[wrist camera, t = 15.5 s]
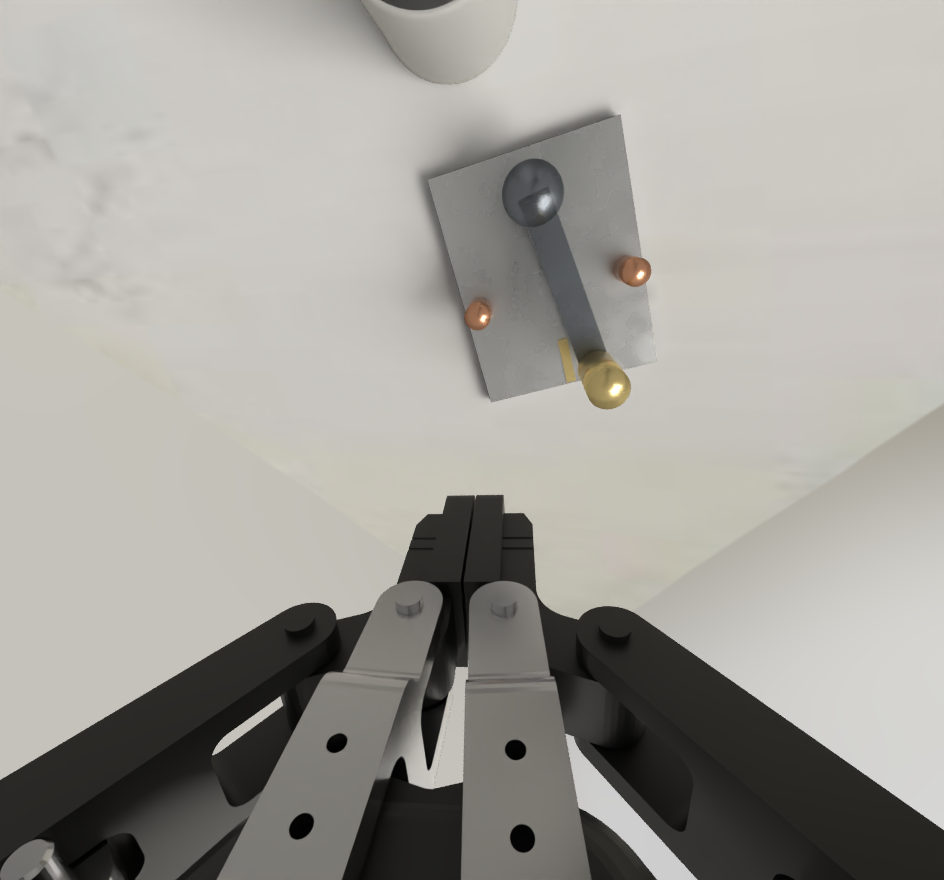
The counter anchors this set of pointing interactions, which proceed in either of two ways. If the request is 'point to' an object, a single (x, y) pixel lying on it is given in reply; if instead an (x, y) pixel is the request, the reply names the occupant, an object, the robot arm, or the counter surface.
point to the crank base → (520, 272)
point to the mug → (445, 34)
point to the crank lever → (563, 276)
